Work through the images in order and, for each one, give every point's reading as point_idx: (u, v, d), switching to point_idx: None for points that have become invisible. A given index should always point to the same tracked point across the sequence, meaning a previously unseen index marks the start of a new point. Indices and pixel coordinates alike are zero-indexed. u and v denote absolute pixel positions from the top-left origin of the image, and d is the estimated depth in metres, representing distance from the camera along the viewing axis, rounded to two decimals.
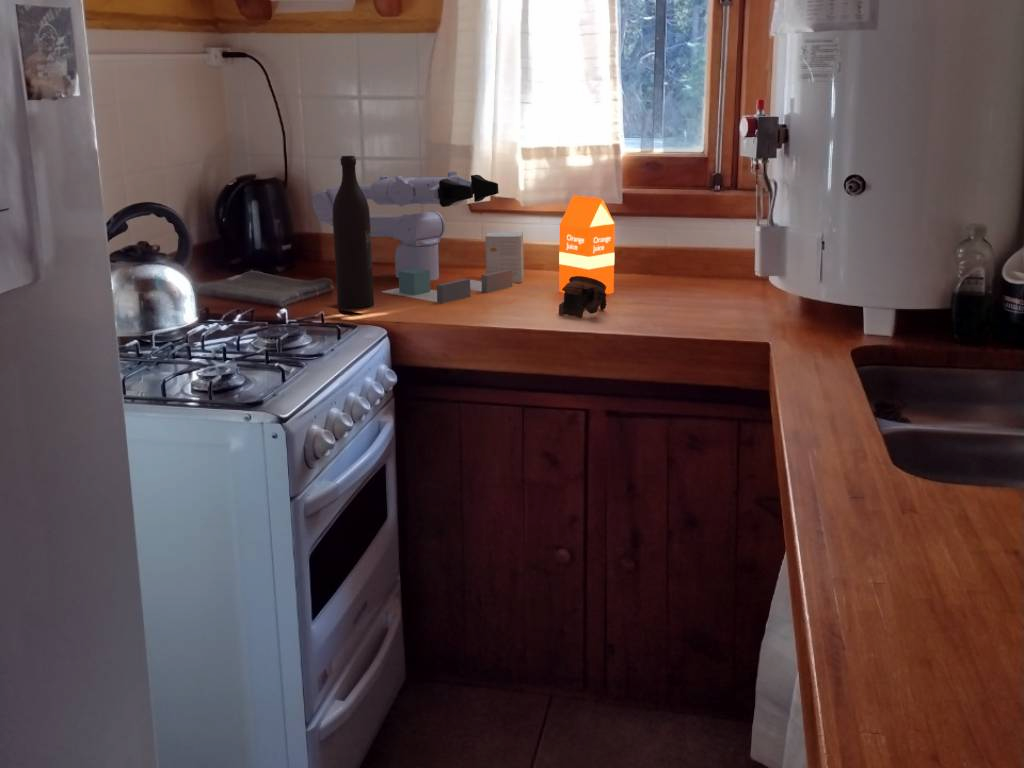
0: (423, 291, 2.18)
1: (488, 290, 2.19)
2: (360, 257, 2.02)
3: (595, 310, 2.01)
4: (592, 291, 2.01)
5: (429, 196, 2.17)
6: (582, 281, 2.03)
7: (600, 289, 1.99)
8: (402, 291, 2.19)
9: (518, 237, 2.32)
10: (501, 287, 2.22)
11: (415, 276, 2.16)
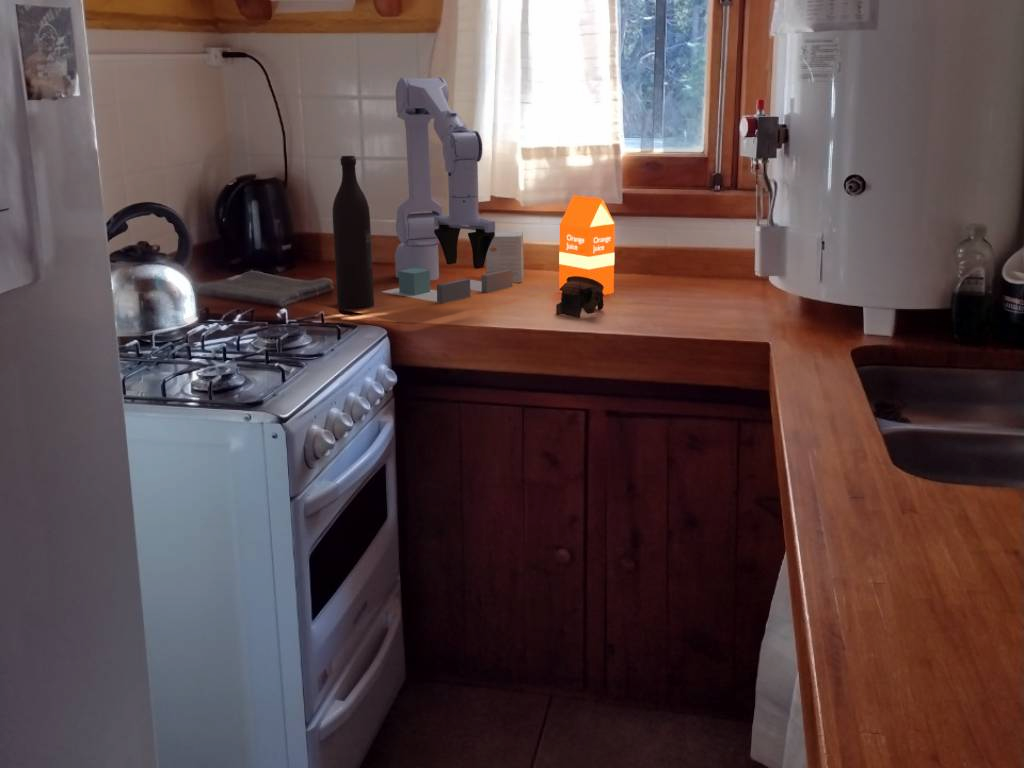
0: (423, 291, 2.18)
1: (488, 290, 2.19)
2: (360, 257, 2.02)
3: (593, 310, 2.01)
4: (589, 291, 2.00)
5: None
6: (579, 281, 2.03)
7: (597, 289, 1.99)
8: (402, 291, 2.19)
9: (518, 237, 2.32)
10: (501, 287, 2.22)
11: (415, 276, 2.16)
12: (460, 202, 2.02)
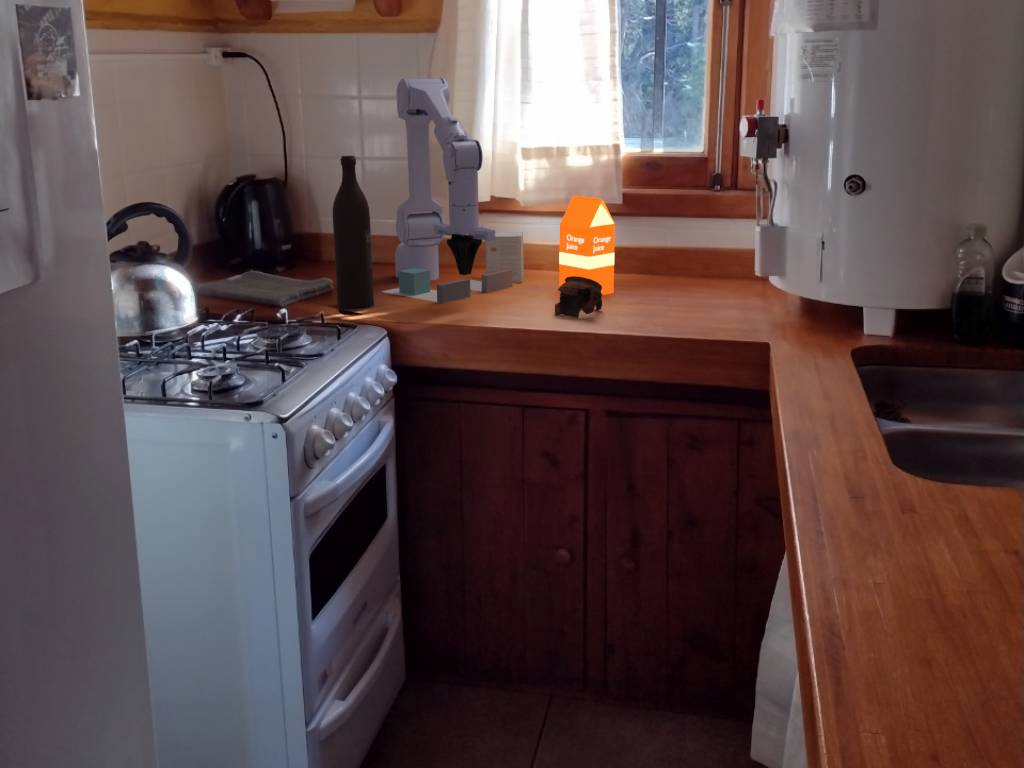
0: (423, 291, 2.18)
1: (488, 290, 2.19)
2: (360, 257, 2.02)
3: (591, 310, 2.01)
4: (588, 291, 2.00)
5: None
6: (578, 281, 2.03)
7: (596, 289, 1.99)
8: (402, 291, 2.19)
9: (518, 237, 2.32)
10: (501, 287, 2.22)
11: (415, 276, 2.16)
12: (460, 211, 2.03)
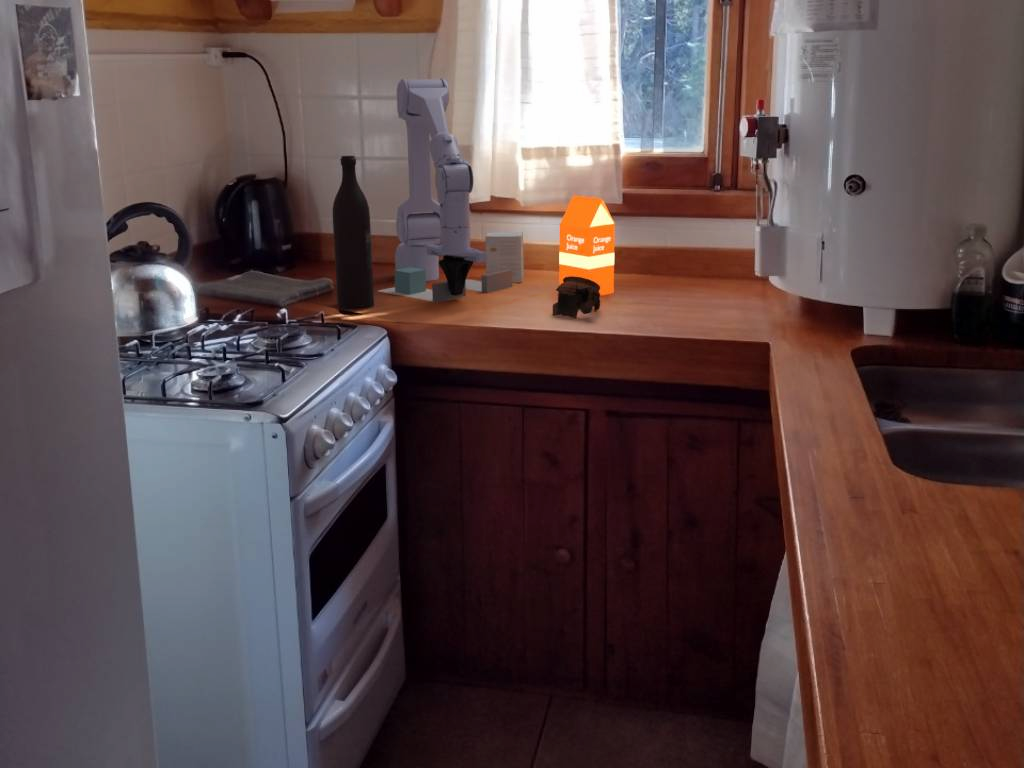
0: (419, 290, 2.19)
1: (488, 290, 2.19)
2: (360, 257, 2.02)
3: (589, 310, 2.01)
4: (586, 291, 2.00)
5: None
6: (576, 281, 2.03)
7: (594, 289, 1.99)
8: (398, 290, 2.19)
9: (518, 237, 2.32)
10: (501, 287, 2.22)
11: (411, 275, 2.17)
12: (452, 233, 2.05)
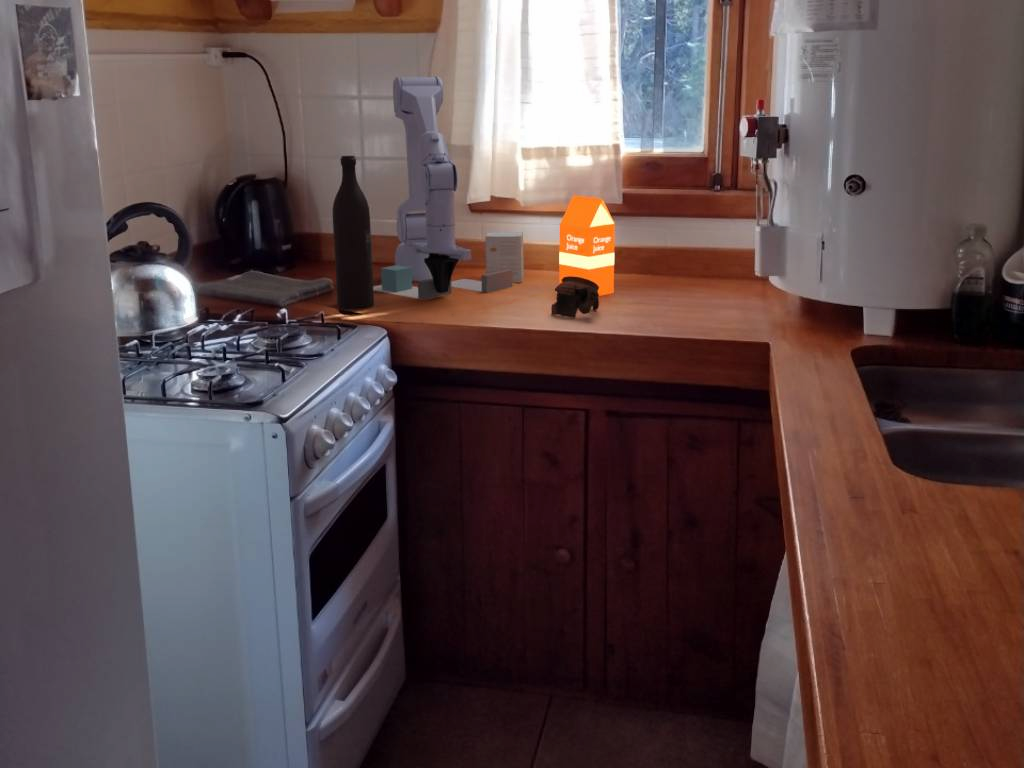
0: (405, 288, 2.22)
1: (488, 290, 2.19)
2: (360, 257, 2.02)
3: (588, 310, 2.01)
4: (585, 291, 2.00)
5: None
6: (574, 281, 2.03)
7: (593, 289, 1.99)
8: (384, 288, 2.22)
9: (518, 237, 2.32)
10: (501, 287, 2.22)
11: (397, 273, 2.19)
12: (437, 231, 2.08)
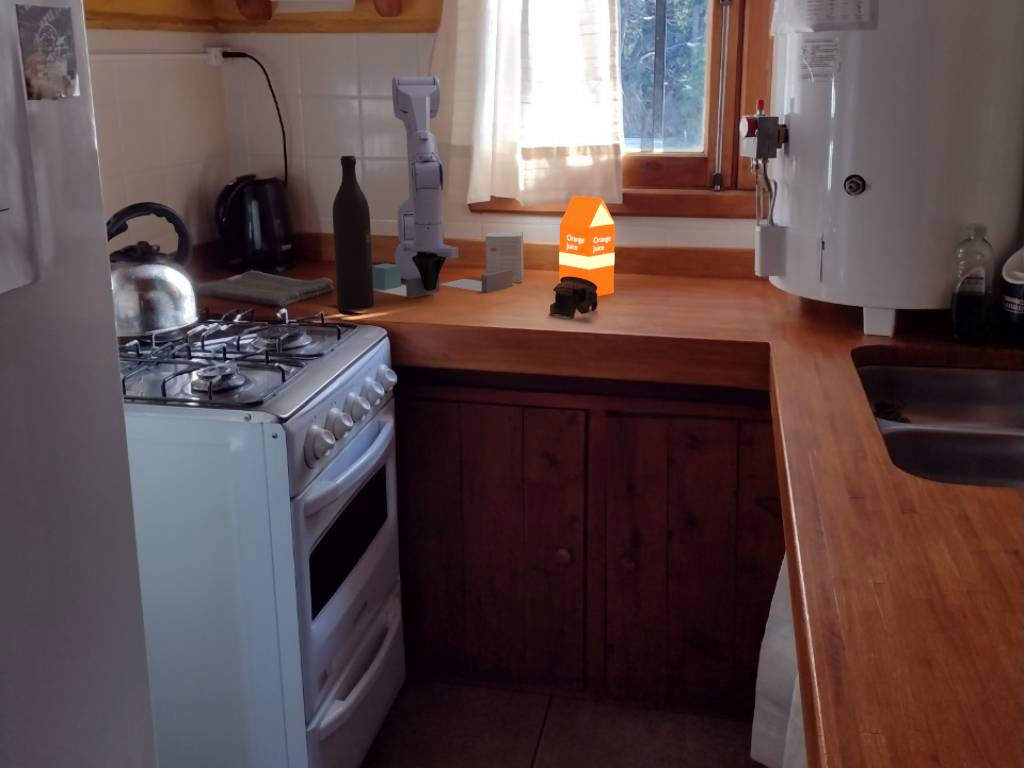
0: (394, 286, 2.24)
1: (488, 290, 2.19)
2: (360, 257, 2.02)
3: (587, 310, 2.01)
4: (583, 291, 2.00)
5: None
6: (573, 281, 2.03)
7: (591, 289, 1.99)
8: (373, 286, 2.24)
9: (518, 237, 2.32)
10: (501, 287, 2.22)
11: (386, 271, 2.21)
12: (424, 229, 2.10)
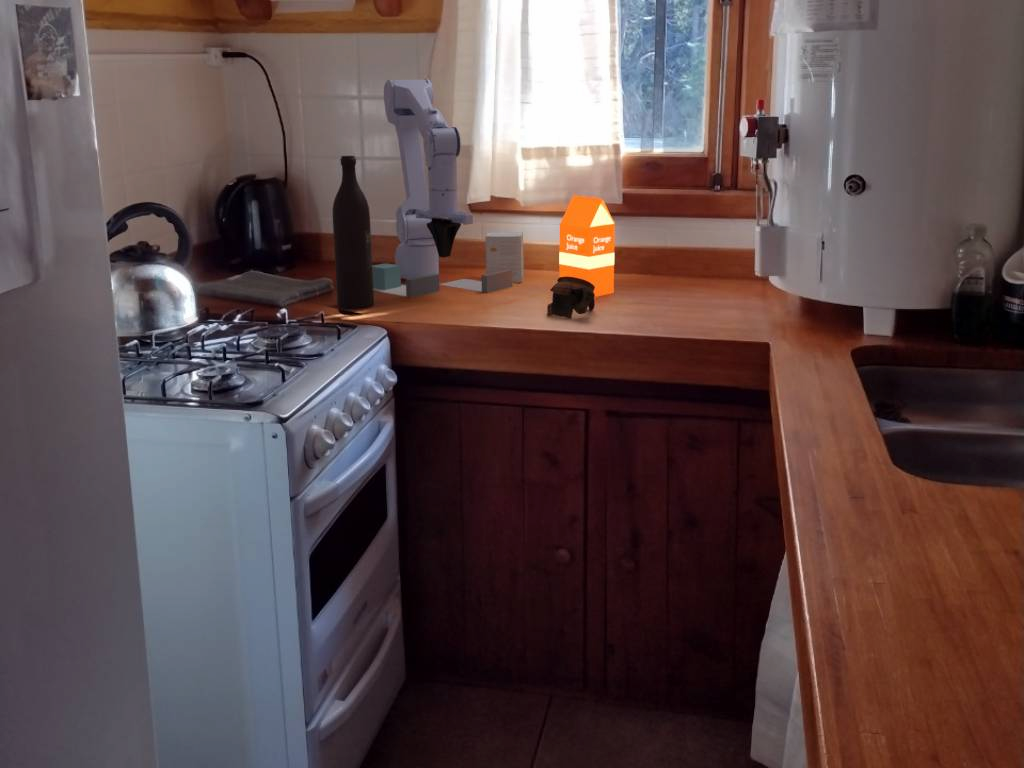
0: (394, 286, 2.24)
1: (488, 290, 2.19)
2: (360, 257, 2.02)
3: (584, 310, 2.01)
4: (581, 291, 2.00)
5: None
6: (570, 282, 2.03)
7: (589, 289, 1.99)
8: (373, 286, 2.24)
9: (518, 237, 2.32)
10: (501, 287, 2.22)
11: (386, 271, 2.21)
12: (439, 195, 2.11)
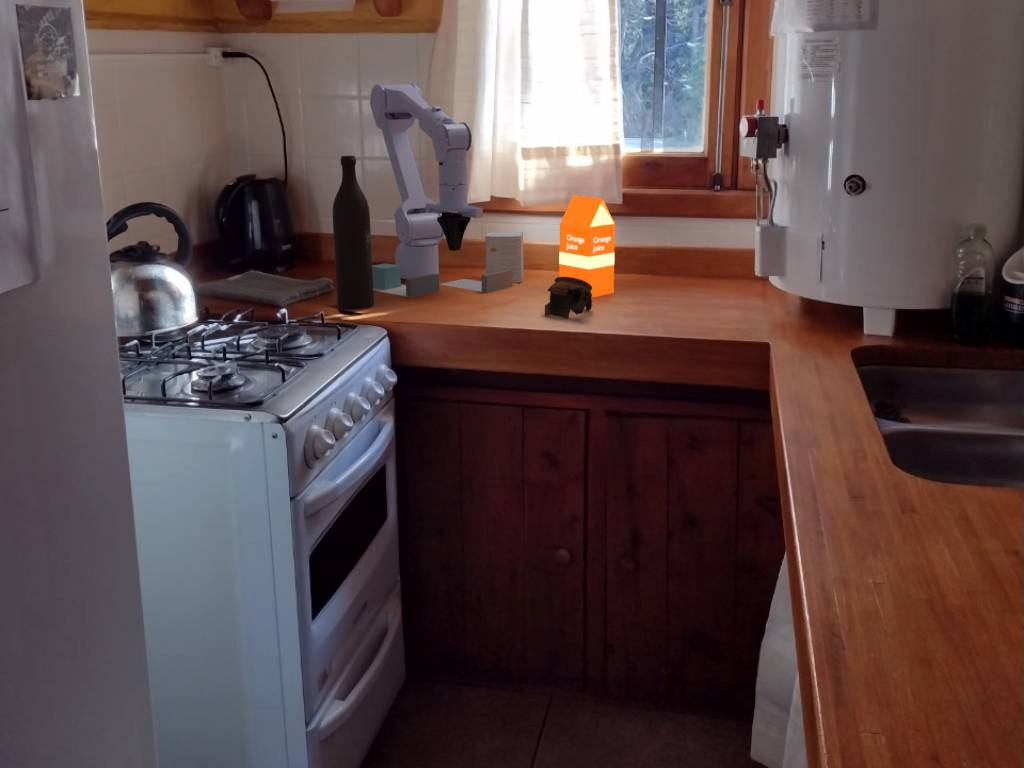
0: (394, 286, 2.24)
1: (488, 290, 2.19)
2: (360, 257, 2.02)
3: (581, 310, 2.01)
4: (578, 292, 2.00)
5: None
6: (567, 282, 2.03)
7: (586, 290, 1.99)
8: (373, 286, 2.24)
9: (518, 237, 2.32)
10: (501, 287, 2.22)
11: (386, 271, 2.21)
12: (450, 189, 2.14)
